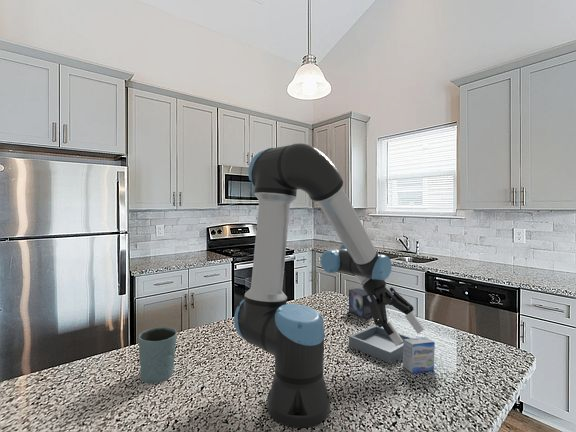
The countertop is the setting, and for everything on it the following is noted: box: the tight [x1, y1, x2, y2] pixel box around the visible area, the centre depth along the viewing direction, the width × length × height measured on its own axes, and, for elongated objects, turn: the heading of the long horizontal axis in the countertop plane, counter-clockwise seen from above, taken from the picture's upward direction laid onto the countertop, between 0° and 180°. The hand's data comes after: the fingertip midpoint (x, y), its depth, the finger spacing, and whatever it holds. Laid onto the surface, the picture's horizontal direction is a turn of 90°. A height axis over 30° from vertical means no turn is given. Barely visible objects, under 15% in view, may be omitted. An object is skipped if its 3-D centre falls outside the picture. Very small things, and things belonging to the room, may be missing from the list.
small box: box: [348, 287, 373, 320], centre depth 143 cm, size 11×6×10 cm, turn 25°
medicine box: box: [402, 336, 436, 375], centre depth 95 cm, size 8×4×9 cm, turn 105°
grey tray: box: [348, 324, 413, 364], centre depth 109 cm, size 16×16×4 cm
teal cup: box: [137, 326, 178, 384], centre depth 90 cm, size 10×10×12 cm
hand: (411, 337), depth 99 cm, fingers open, 13 cm apart
